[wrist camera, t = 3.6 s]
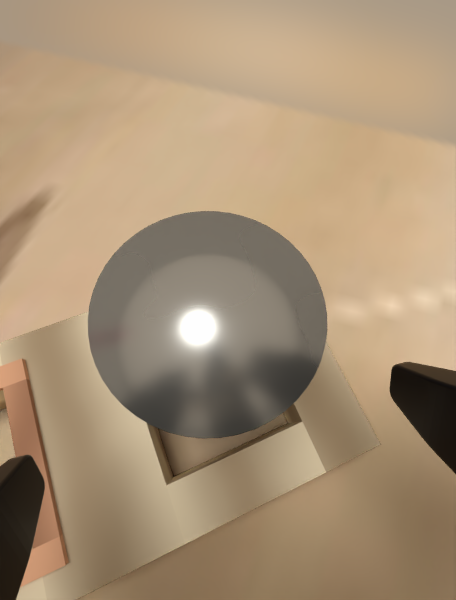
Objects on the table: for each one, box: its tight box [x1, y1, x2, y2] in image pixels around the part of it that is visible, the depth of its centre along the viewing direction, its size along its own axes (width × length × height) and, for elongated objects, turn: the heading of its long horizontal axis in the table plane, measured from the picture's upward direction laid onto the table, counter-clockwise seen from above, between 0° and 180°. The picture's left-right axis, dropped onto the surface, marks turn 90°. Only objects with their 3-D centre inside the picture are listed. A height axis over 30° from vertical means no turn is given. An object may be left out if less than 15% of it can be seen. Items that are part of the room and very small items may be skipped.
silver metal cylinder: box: [88, 211, 327, 438], centre depth 13 cm, size 5×5×13 cm
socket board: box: [0, 312, 381, 600], centre depth 16 cm, size 24×11×3 cm, turn 113°
